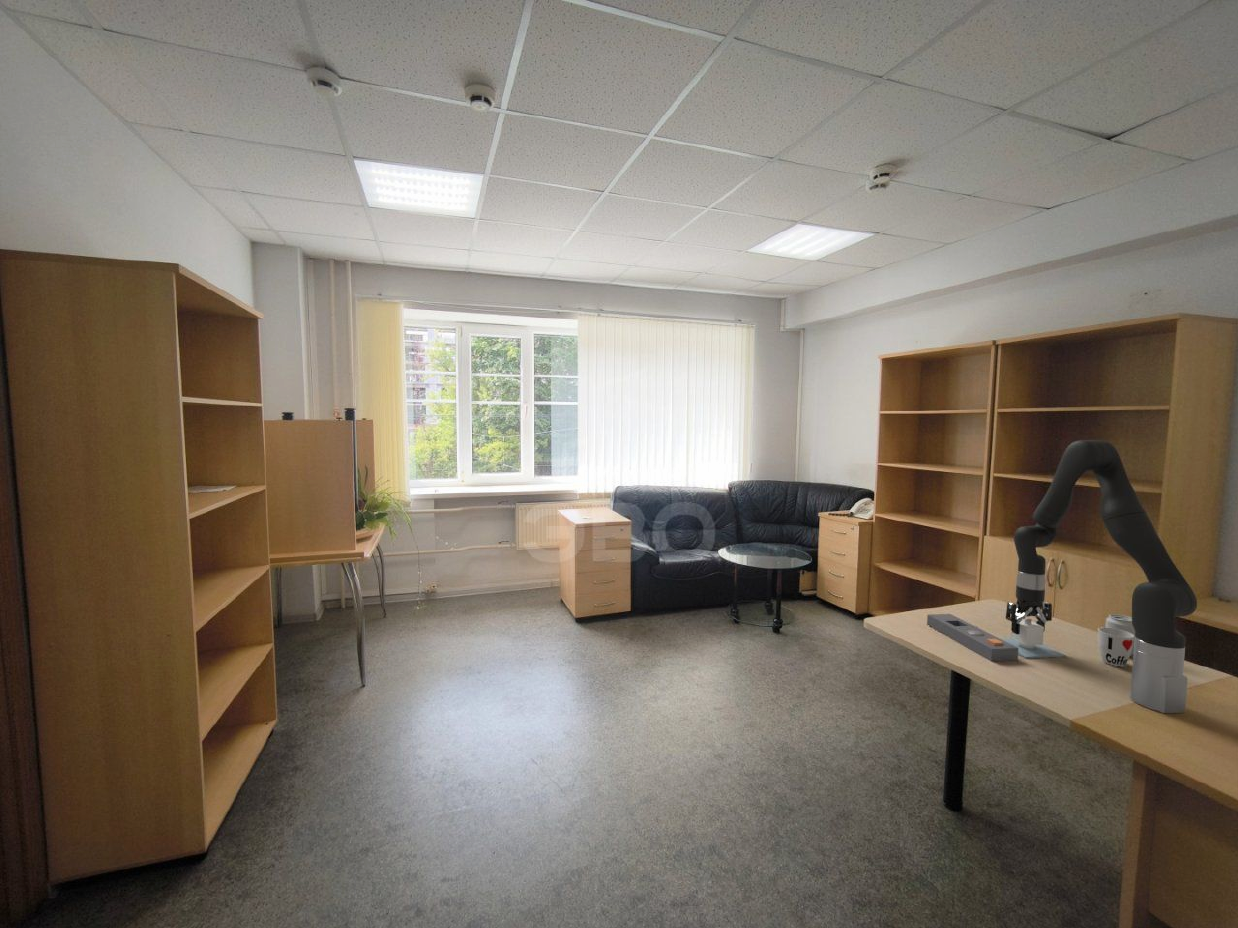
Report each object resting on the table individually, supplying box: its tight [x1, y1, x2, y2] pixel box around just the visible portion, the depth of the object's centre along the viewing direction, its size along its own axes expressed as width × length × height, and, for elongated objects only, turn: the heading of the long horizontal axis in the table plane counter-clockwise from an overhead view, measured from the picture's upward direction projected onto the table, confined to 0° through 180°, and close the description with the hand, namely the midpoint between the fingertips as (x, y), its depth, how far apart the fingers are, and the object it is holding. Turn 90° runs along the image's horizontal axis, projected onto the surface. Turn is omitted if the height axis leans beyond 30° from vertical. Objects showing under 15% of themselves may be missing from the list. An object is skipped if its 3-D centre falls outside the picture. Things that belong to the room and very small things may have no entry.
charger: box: [1011, 617, 1045, 649], centre depth 171 cm, size 6×6×10 cm
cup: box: [1097, 626, 1134, 668], centre depth 160 cm, size 8×8×10 cm
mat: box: [999, 637, 1067, 659], centre depth 171 cm, size 14×14×1 cm
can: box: [1104, 613, 1135, 657], centre depth 168 cm, size 8×8×12 cm
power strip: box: [926, 613, 1019, 662], centre depth 177 cm, size 30×9×5 cm, turn 4°
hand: (1027, 633), depth 171 cm, fingers open, 8 cm apart
